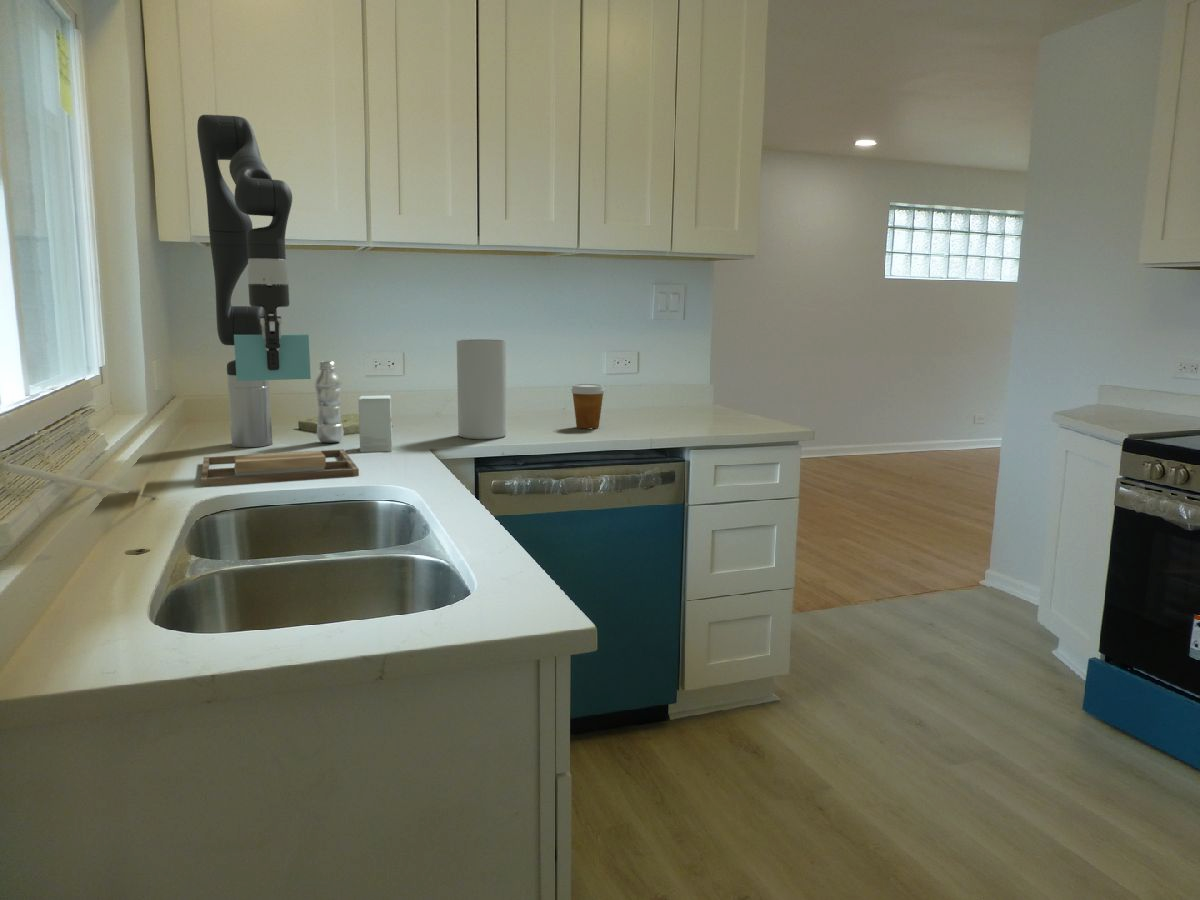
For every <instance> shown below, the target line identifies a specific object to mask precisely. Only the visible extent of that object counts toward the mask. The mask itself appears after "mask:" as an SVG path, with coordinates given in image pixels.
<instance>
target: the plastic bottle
mask: <svg viewBox="0 0 1200 900" xmlns="http://www.w3.org/2000/svg"><path fill="white" fill-rule="evenodd" d="M318 370H320V372H319V374H318V375H317V376H316V378H315V381H314V388H315V395H316V401H317V411H318V413H317V417H318V425H317V432H316V437H317V439H318V440H319V442H322V443H328V444H334V443H337V442H341V441H342V440H343V438H344V436H343V434H344V430H343V425H342V423H341V422H342V421H341V415H342V414H341V392H342V381H341V379H340V378H341V377H339V376H338V374H337V373H336V372H335V370H336V362H335V361H328V360H327V361H319V368H318Z"/></svg>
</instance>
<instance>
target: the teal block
mask: <svg viewBox="0 0 1200 900" xmlns="http://www.w3.org/2000/svg"><path fill="white" fill-rule="evenodd" d="M309 337H310V335H309V334H307V333H306V334H304V333H303V334H302V333H301V334H291V333H290V334H287V333H286V334H281V338H280V339H279V344H280V349H279V351H278V352H279V369H278V370H269V369H268V366H267V352H269V351H266V350H265V344H266V341H265V340H264V339H263V335H234V345H233V346H234V356H235V357H234V358H235V359H234V360H235V361H236V377H237V381H252V380H269V381H281V380H282V381H283V380H311V359H310V358H311V356H310V338H309ZM269 342H276V340H275V339H269Z"/></svg>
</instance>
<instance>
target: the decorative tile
mask: <svg viewBox="0 0 1200 900" xmlns="http://www.w3.org/2000/svg"><path fill="white" fill-rule="evenodd" d="M341 421H342V422H341V423H342V425H343V430H344V434H343V437H344V436H345V437H346V436H352V435H360V432H359V413H346V414H341ZM297 423H298V425H297V426H298V429H299V428H301V429H300V430H304V429H305V431H309V430H310V431H311V432H315V433H317V425H318V416H314V417H309V418H307V419H299V420H298V422H297ZM392 429H393V425H392Z"/></svg>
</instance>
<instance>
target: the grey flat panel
mask: <svg viewBox="0 0 1200 900" xmlns="http://www.w3.org/2000/svg"><path fill="white" fill-rule="evenodd" d="M233 468H235V465H234V466H233ZM321 470H325V469H324V467H312V468H297V469H283V470H268V471H253V472H238V473H237V472H236V468H235V475H234V476H245V475H261V474H276V473H291V472H306V471H321Z"/></svg>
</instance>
